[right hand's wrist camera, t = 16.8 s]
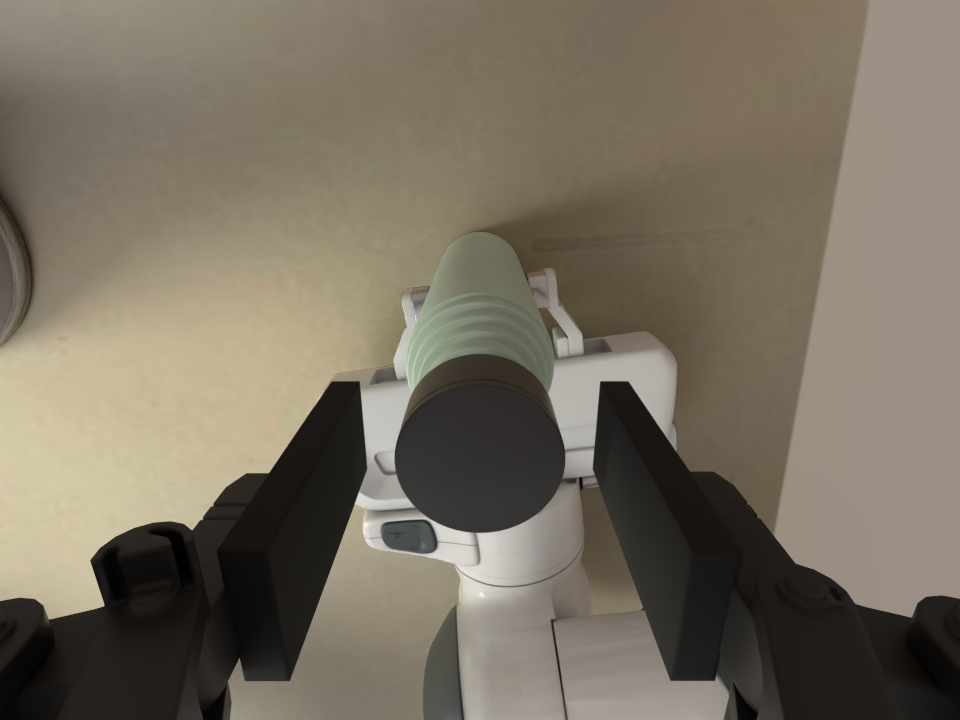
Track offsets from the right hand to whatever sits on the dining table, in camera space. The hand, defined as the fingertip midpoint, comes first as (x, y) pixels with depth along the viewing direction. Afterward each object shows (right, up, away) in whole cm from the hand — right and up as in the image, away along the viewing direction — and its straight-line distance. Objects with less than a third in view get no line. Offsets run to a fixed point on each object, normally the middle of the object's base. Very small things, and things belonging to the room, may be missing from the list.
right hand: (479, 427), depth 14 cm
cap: (0, -1, -2) cm, 2 cm away
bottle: (0, +7, +20) cm, 21 cm away
